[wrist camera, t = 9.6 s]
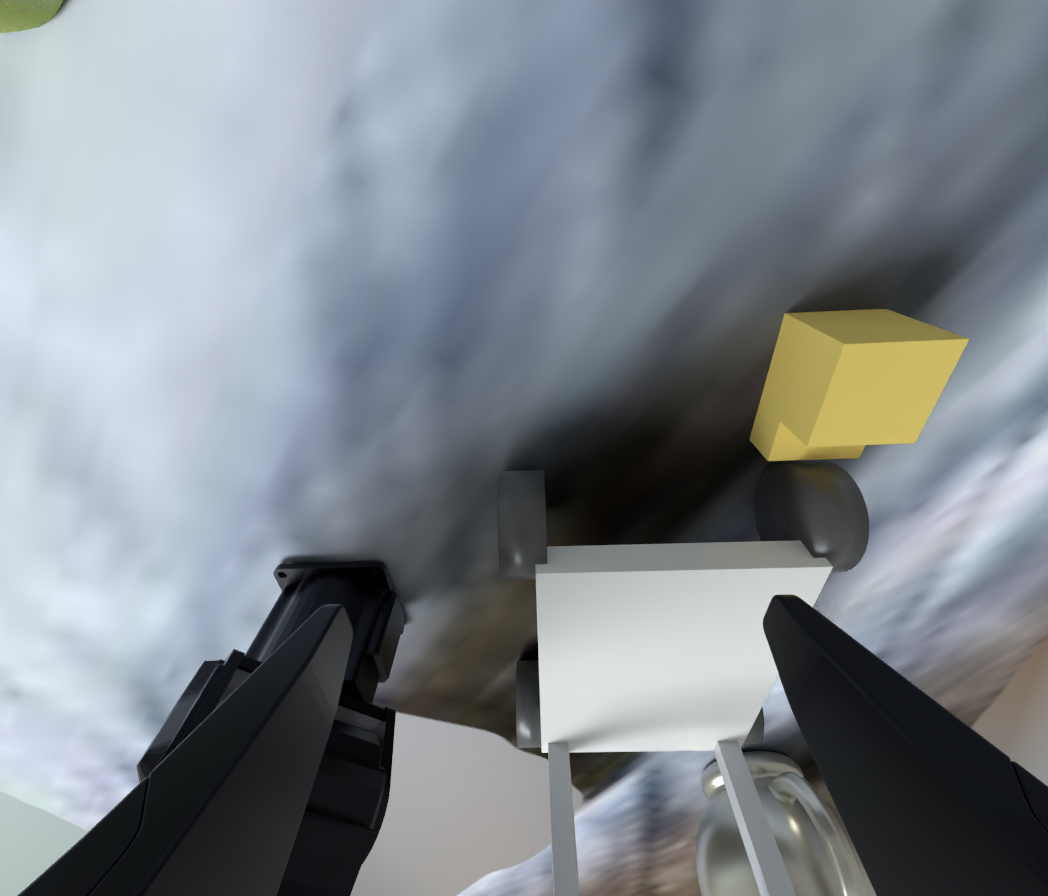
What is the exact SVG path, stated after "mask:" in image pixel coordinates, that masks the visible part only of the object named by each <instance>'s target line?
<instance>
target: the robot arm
mask: <svg viewBox="0 0 1048 896" xmlns="http://www.w3.org/2000/svg"><path fill="white" fill-rule="evenodd" d="M274 576H275V578H276V580H277V582H278V584H279V586H280V588H281V590H282V593H281V595H280V596H279V598H278V600H277V601H276V603H275V605H274V607H273V608H272V610H271V612H270V613H269V615H268V617H267V618H266V620H265V622H264V624H263V625H262V627H261V629H260V630H259V632H258V634H257V636H256V637H255V639H254V641H253V642H252V644H251V646H250V647H249V649H248V651H247V653H246V654H245V653H243V652H241V651H238V650H235V649H234V650H233V651H232V652H231V653H230V655H229V656H228V657H227V658H226V660H225V661H223V660H221V659H220V660H219V661H204V663H203V664H202V665H201V667H200V668H199V670H198V671H197V673H196V674H195V676H194V677H193V679H192V680H191V682H190V683H189V685H188V686H187V688H186V689H185V691H184V692H183V694H182V695H181V697H180V698H179V700H178V702H177V703H176V705H175V706H174V708H173V709H172V711H171V712H170V714H169V715H168V717H167V719H166V720H165V722H164V723H163V725H162V726H161V728H160V730H159V731H158V733H157V734H156V736H155V738H154V739H153V741H152V742H151V744H150V745H149V747H148V749H147V750H146V752H145V753H144V755H143V757H142V758H141V760H140V761H139V763H138V765H137V771H138V776H139V782H140V783H139V784H138V785H137V786H136V787H135V788H134V789H133V790H132V791H131V792H130V793H129V794H128V795H127V796H126V797H125V798H124V799H123V800H122V801H121V802H120V803H118V804H117V805H116V806H115V807H114V808H113V809H112V810H111V811H110V812H109V813H108V814H107V815H106V816H105V817H104V818H103V819H102V820H101V821H100V822H98V823H97V824H96V825H95V826H94V827H93V828H92V829H91V830H90V831H89V832H88V833H87V834H86V835H85V836H84V837H83V838H82V839H80V840H79V841H78V842H77V843H76V844H75V845H74V846H73V847H72V848H71V849H69V850H68V851H67V852H66V853H65V854H64V855H63V856H62V857H60V858H59V859H58V860H57V861H56V862H55V863H54V864H53V865H52V866H50V867H49V868H48V869H47V870H46V871H45V872H44V873H43V874H41V875H40V876H39V877H38V878H37V879H36V880H35V881H34V882H32V883H31V884H30V885H29V886H28V887H27V888H26V889H25V890H23V891H22V892H21V893H20V894H19V895H18V896H350V894H351V891H352V889H353V886H354V883H355V881H356V878H357V875H358V873H359V870H360V867H361V865H362V864H363V862H364V861H365V859H366V858H367V856H368V854H369V852H370V851H371V849H372V847H373V845H374V842H375V840H376V838H377V836H378V833H379V830H380V828H381V825H382V822H383V819H384V816H385V812H386V808H387V803H388V799H389V791H390V780H391V779H390V778H391V767H392V754H393V741H394V740H393V739H394V726H395V714H396V710H394V709H391V708H389V707H385V708H383V707H380V706H378V705H375V704H372V702H373V699H374V695H375V692H376V688H377V685H378V683H384V682H385V681H386V680H387V679H388V678H389V675H390V671H391V667H392V664H393V660H394V656H395V653H396V649H397V645H398V642H399V638H400V635H401V634H402V633H403V630H404V620H405V617H404V614H403V610H402V607H401V604H400V600H399V597H398V594H397V593H396V592H395V590H393V586H392V583H391V580H390V577H389V573H388V570H387V567H386V565H385V564H383V563H381V562H337V563H295V564H280V565H278V566H277V568H276V569H275V571H274ZM763 630H764V633H765V636H766V639H767V642H768V645H769V647H770V650H771V653H772V656H773V659H774V662H775V665H776V668H777V671H778V674H779V676H780V679H781V682H782V685H783V688H784V691H785V694H786V696H787V699H788V702H789V704H790V707H791V709H792V712H793V714H794V716H795V719H796V721H797V723H798V725H799V727H800V729H801V732H802V734H803V736H804V738H805V740H806V743H807V745H808V747H809V749H810V751H811V754H812V756H813V758H814V760H815V762H816V764H817V767H818V769H819V771H820V773H821V775H822V778H823V780H824V782H825V784H826V786H827V788H828V791H829V793H830V795H831V797H832V799H833V802H834V804H835V806H836V808H837V810H838V812H839V815H840V817H841V819H842V821H843V823H844V826H845V828H846V830H847V832H848V834H849V837H850V839H851V841H852V843H853V845H854V847H855V850H856V852H857V854H858V856H859V858H860V861H861V863H862V865H863V867H864V869H865V871H866V874H867V876H868V878H869V880H870V882H871V885H872V887H873V889H874V891H875V893H876V895H877V896H1048V786H1046V785H1045V784H1044V783H1043V782H1041V781H1040V780H1039V779H1037V778H1036V777H1035V776H1033V775H1032V774H1031V773H1029V772H1028V771H1027V770H1025V769H1024V768H1023V767H1021V766H1020V765H1019V764H1018V763H1016V762H1014V761H1011V760H1010V758H1009V757H1008V756H1007V755H1005V754H1004V753H1003V752H1002V751H1000V750H999V749H998V748H996V747H995V746H994V745H992V744H991V743H990V742H988V741H987V740H986V739H985V738H983V737H982V736H981V735H979V734H978V733H977V732H975V731H974V730H973V729H971V728H970V727H969V726H968V725H966V724H965V723H964V722H962V721H961V720H960V719H958V718H957V717H956V716H954V715H953V714H952V713H950V712H949V711H948V710H947V709H945V708H944V707H943V706H941V705H940V704H939V703H937V702H936V701H935V700H933V699H932V698H931V697H930V696H928V695H927V694H926V693H924V692H923V691H922V690H920V689H919V688H918V687H916V686H915V685H914V684H912V683H911V682H910V681H909V680H907V679H906V678H905V677H903V676H902V675H901V674H899V673H898V672H897V671H895V670H894V669H893V668H891V667H890V666H889V665H888V664H886V663H885V662H884V661H882V660H881V659H880V658H878V657H877V656H876V655H874V654H873V653H872V652H870V651H869V650H868V649H867V648H865V647H864V646H863V645H861V644H860V643H859V642H857V641H856V640H855V639H853V638H852V637H851V636H849V635H848V634H847V633H846V632H844V631H843V630H842V629H840V628H839V627H838V626H836V625H835V624H834V623H832V622H831V621H830V620H829V619H827V618H826V617H825V616H823V615H822V614H821V613H819V612H818V611H817V610H815V609H814V608H813V607H811V606H810V605H809V604H808V603H806V602H805V601H804V600H802V599H801V598H799V597H798V596H796V595H791V594H787V595H775V596H773V597H772V599H771V601H770V604H769V606H768V608H767V611H766V613H765V615H764V618H763Z"/></svg>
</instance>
